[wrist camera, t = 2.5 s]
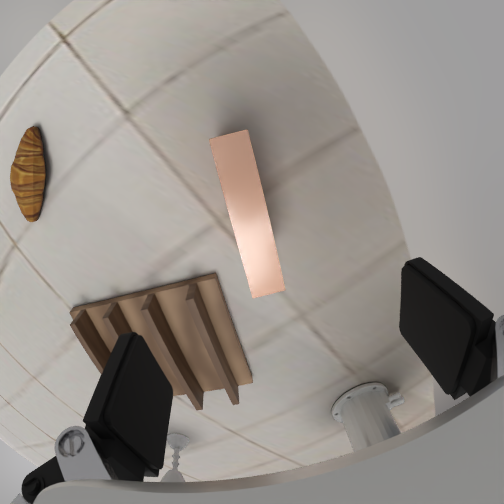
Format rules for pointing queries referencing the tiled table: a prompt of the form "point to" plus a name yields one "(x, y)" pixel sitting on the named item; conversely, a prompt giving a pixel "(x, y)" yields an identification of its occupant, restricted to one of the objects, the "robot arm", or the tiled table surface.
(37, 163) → the croissant
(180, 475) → the chalice
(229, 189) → the pink rectangular block
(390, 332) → the tiled table surface
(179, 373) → the slot rack
